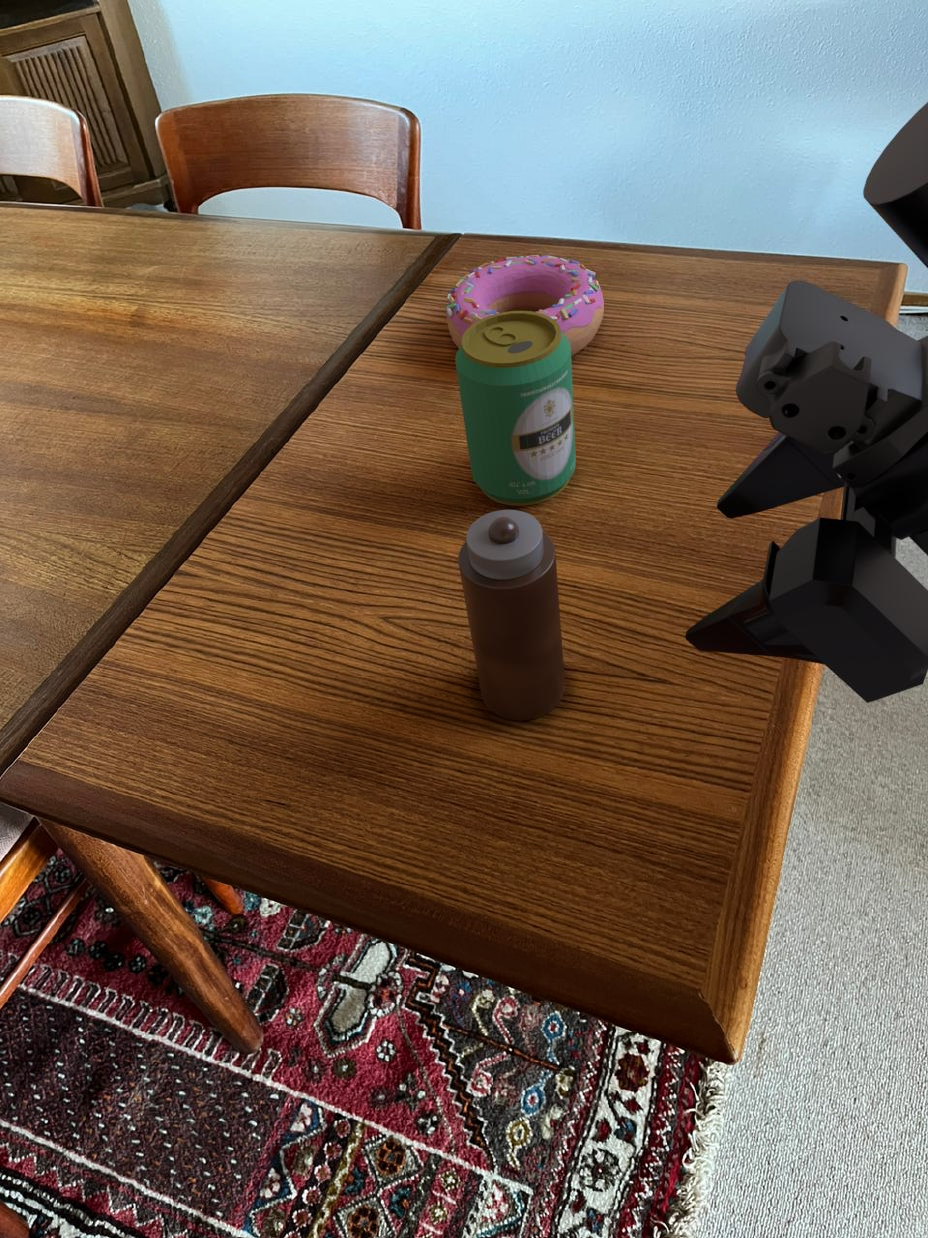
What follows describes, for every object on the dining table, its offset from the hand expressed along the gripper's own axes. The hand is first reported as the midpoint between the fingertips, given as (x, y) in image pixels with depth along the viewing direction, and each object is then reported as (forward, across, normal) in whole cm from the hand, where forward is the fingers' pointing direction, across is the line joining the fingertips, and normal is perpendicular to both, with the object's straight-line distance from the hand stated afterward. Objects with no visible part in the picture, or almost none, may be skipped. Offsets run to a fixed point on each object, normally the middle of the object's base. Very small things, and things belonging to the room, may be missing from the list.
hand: (708, 572), depth 45 cm
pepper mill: (+16, -1, +2) cm, 17 cm away
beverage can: (+21, -21, -2) cm, 30 cm away
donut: (+25, -41, -7) cm, 49 cm away
